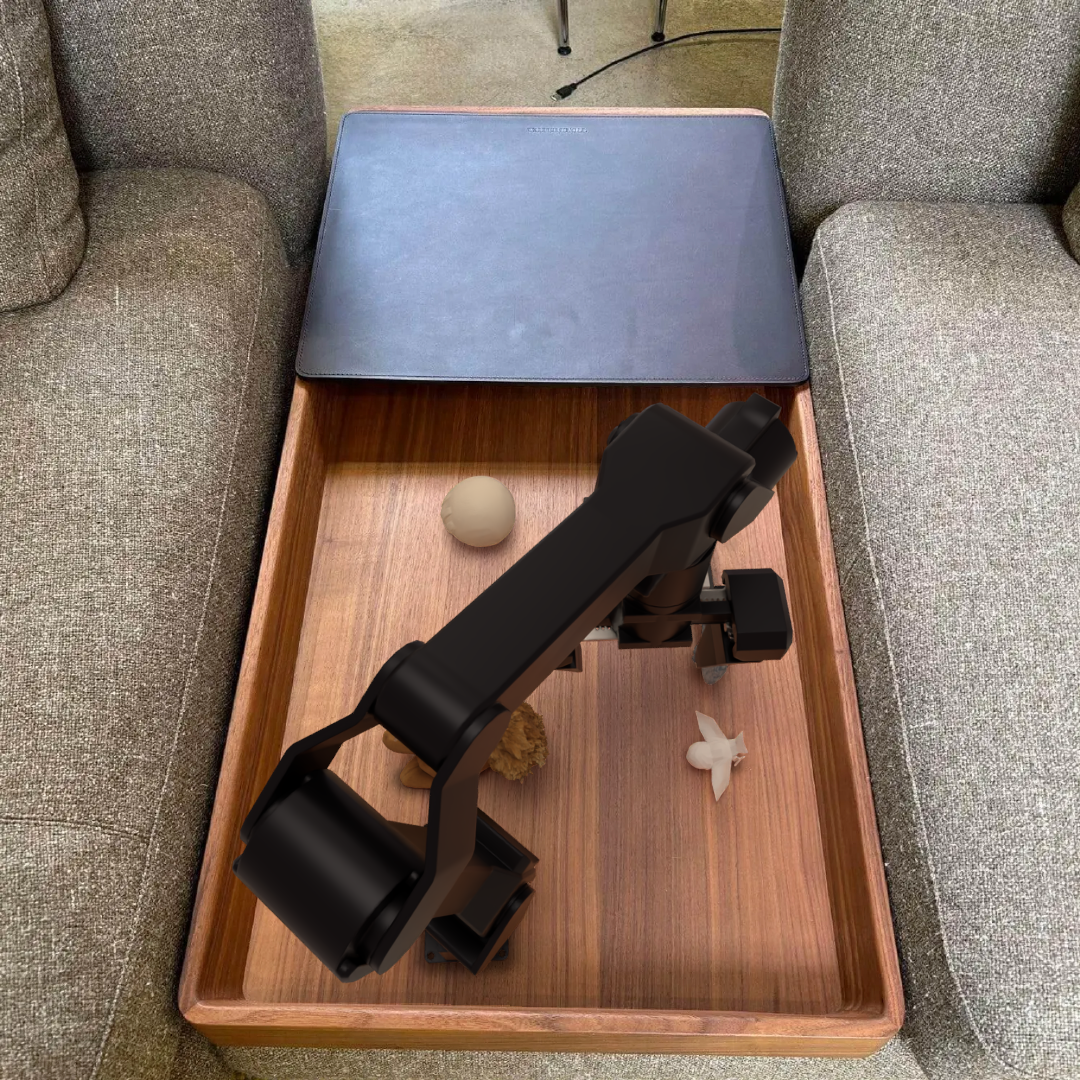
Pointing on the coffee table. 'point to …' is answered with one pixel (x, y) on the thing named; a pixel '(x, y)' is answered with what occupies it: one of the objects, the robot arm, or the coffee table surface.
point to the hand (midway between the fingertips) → (638, 664)
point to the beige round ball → (479, 511)
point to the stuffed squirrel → (509, 757)
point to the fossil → (710, 669)
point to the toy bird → (715, 752)
